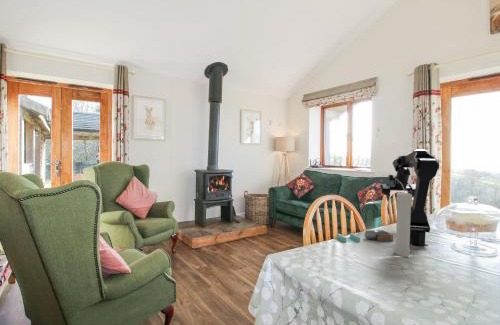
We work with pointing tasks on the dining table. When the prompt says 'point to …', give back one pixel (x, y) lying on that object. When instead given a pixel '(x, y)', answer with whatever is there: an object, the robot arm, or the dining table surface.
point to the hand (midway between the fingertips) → (396, 201)
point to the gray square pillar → (403, 223)
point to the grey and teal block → (373, 234)
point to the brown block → (384, 237)
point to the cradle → (349, 238)
